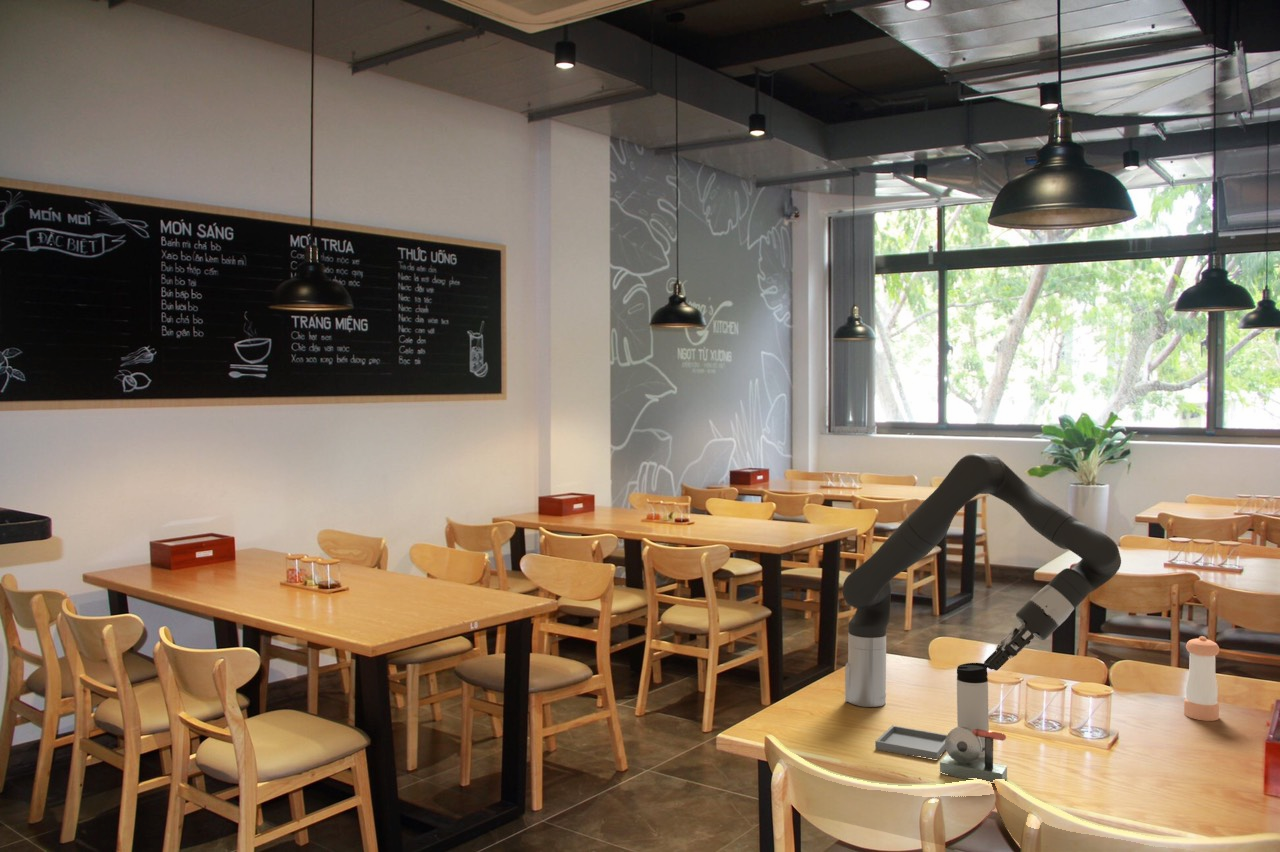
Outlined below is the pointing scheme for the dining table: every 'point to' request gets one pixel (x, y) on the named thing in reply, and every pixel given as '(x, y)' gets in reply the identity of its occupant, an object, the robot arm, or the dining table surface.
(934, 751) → the tray
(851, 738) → the dining table surface
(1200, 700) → the salt shaker
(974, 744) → the crank stand
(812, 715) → the dining table surface
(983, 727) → the travel mug
